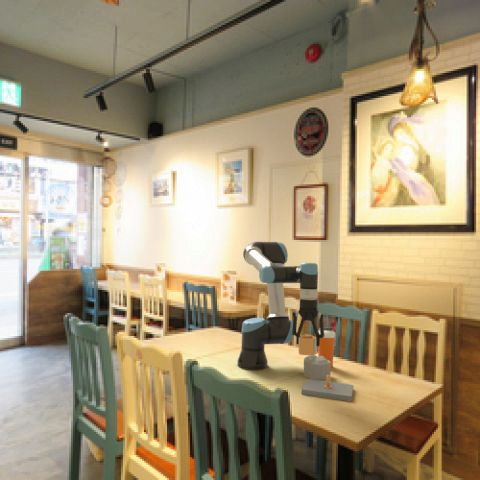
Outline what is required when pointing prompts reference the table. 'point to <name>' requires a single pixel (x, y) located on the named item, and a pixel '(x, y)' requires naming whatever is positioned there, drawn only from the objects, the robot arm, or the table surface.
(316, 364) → the lumpy-topped squat cylinder
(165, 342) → the table surface
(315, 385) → the plate
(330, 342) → the shaker bottle
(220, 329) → the table surface
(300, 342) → the tan hollow block
